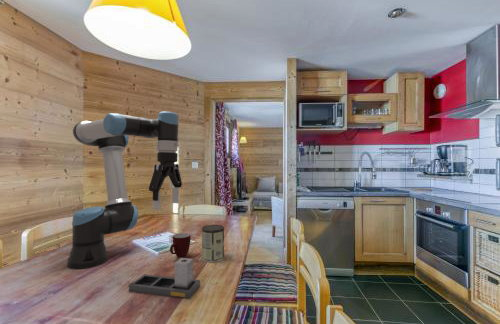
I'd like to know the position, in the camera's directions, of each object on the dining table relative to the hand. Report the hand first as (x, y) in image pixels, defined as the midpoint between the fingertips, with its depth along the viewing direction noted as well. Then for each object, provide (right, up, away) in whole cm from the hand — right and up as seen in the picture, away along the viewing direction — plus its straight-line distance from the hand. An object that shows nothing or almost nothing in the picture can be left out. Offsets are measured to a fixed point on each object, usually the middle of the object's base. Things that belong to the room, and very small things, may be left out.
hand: (166, 206), depth 99 cm
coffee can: (+16, -27, +17) cm, 36 cm away
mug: (0, -27, +17) cm, 32 cm away
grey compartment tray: (+4, -27, -12) cm, 30 cm away
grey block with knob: (+10, -26, -13) cm, 31 cm away
